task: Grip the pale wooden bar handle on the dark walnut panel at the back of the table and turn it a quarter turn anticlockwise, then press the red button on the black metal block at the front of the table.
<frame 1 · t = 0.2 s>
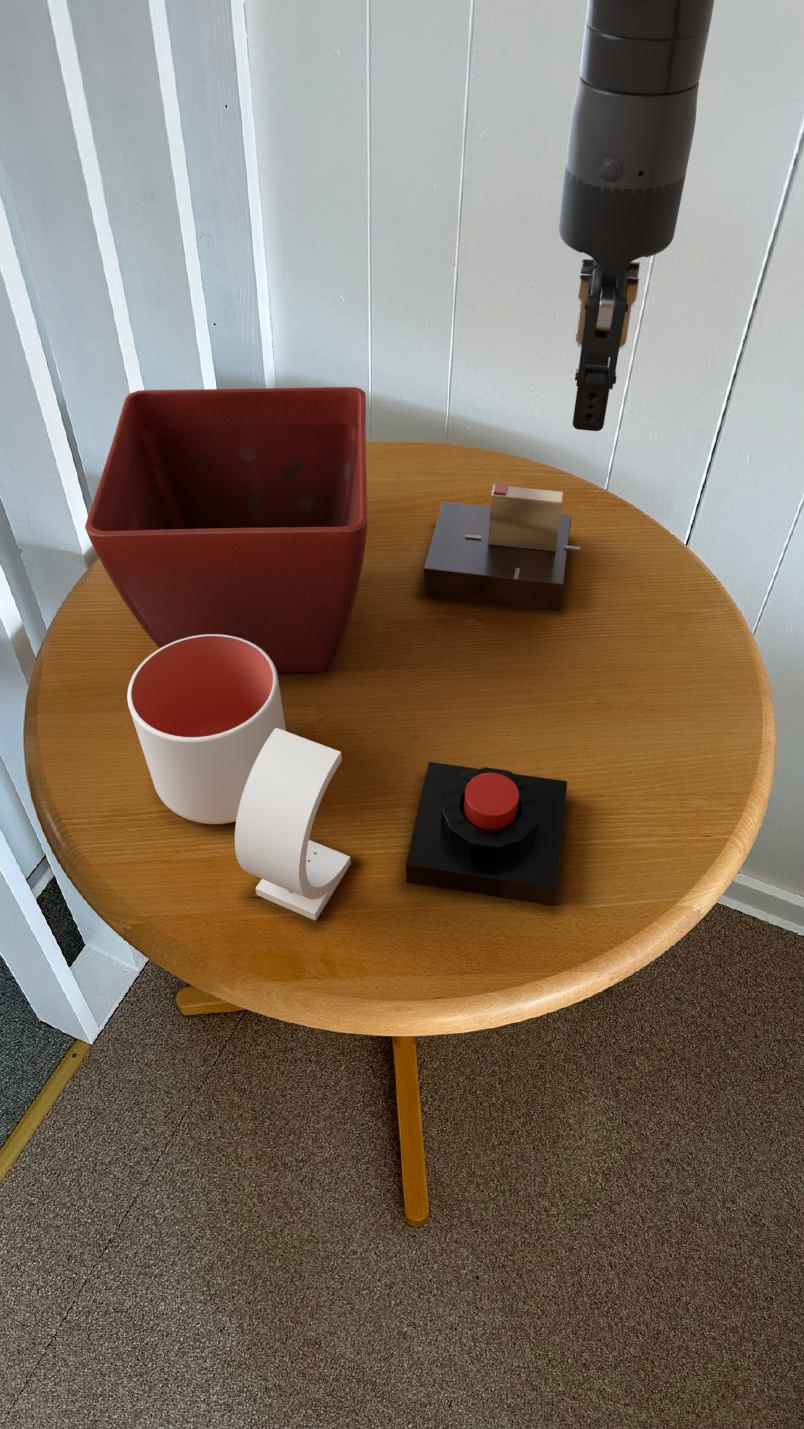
hand: (590, 397, 73), 18 cm above the table, tool pointing down, fingers open, 8 cm apart
handle: (525, 517, 84), point 6 cm above the table, hinge at 0.0°
button: (491, 801, 65), point 4 cm above the table, slide at 0.1 cm
plant pot: (263, 624, 84), on the table
panel: (497, 567, 88), on the table
headphone stand: (300, 886, 66), on the table
cup: (224, 779, 72), on the table
button block: (487, 839, 68), on the table
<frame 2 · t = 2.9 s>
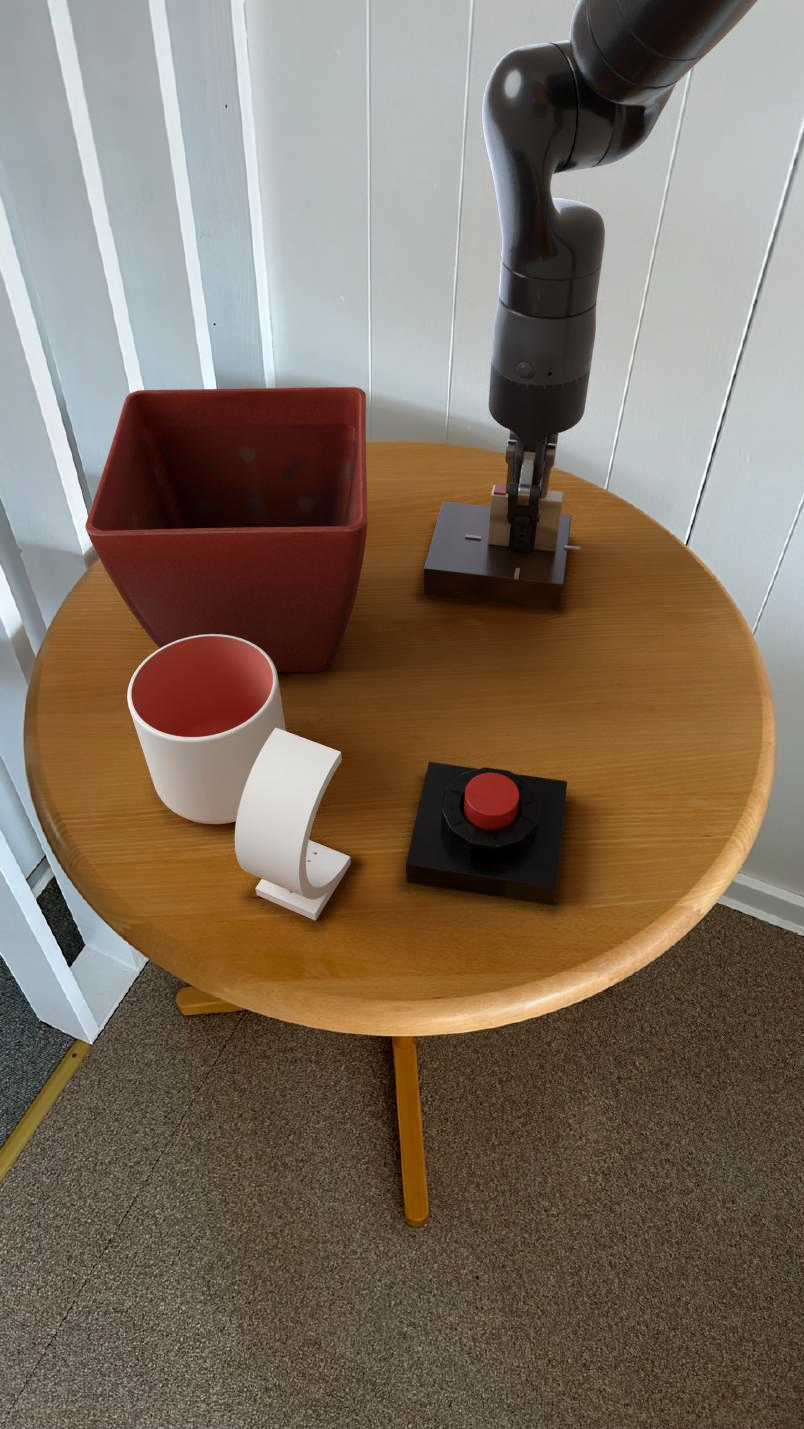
hand: (522, 540, 86), 3 cm above the table, tool pointing down, fingers closed on handle
handle: (525, 517, 84), point 6 cm above the table, hinge at 0.0°, touching gripper
everything else where it was.
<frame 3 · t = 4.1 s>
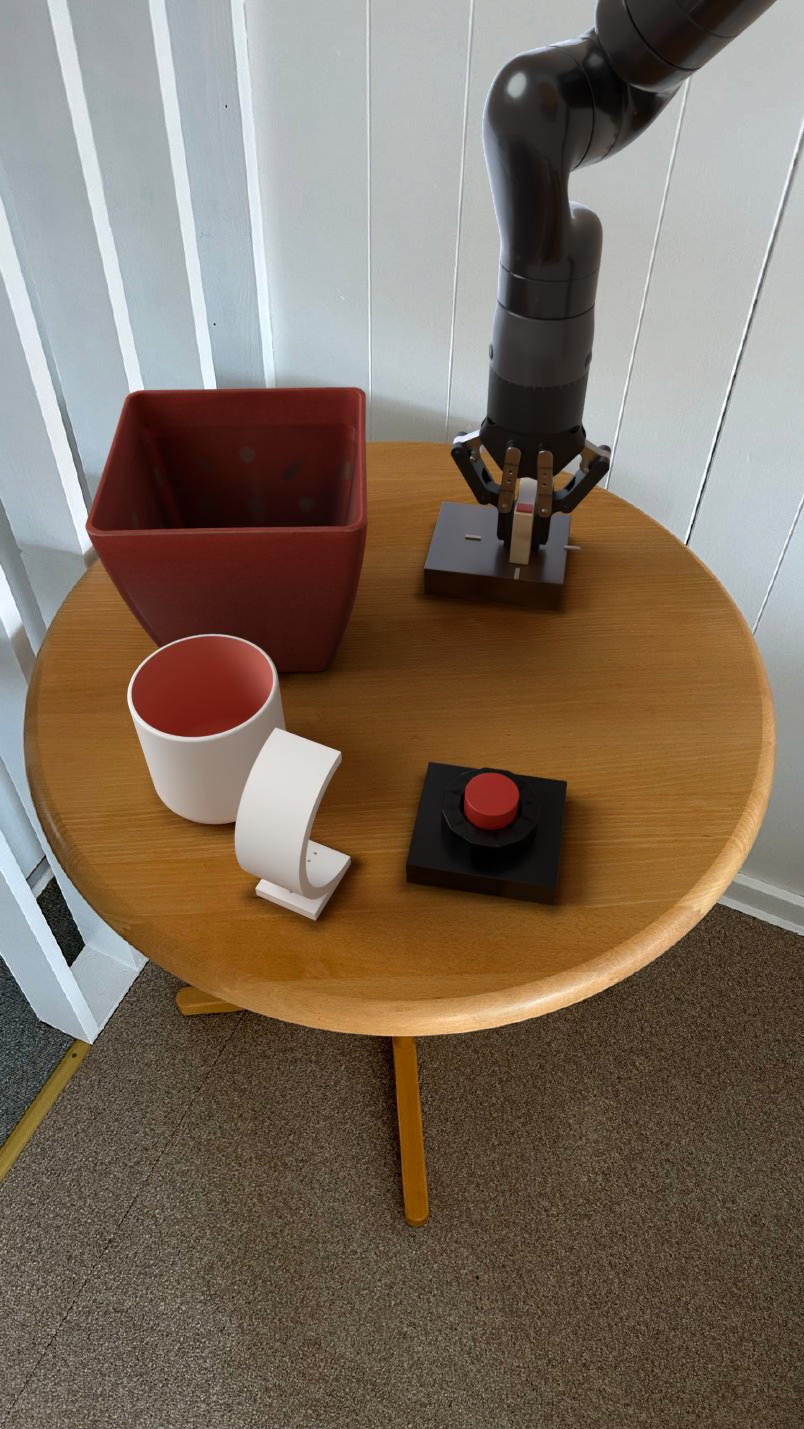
hand: (521, 542, 85), 3 cm above the table, tool pointing down, fingers closed
handle: (525, 517, 84), point 6 cm above the table, hinge at 89.7°
everything else where it was.
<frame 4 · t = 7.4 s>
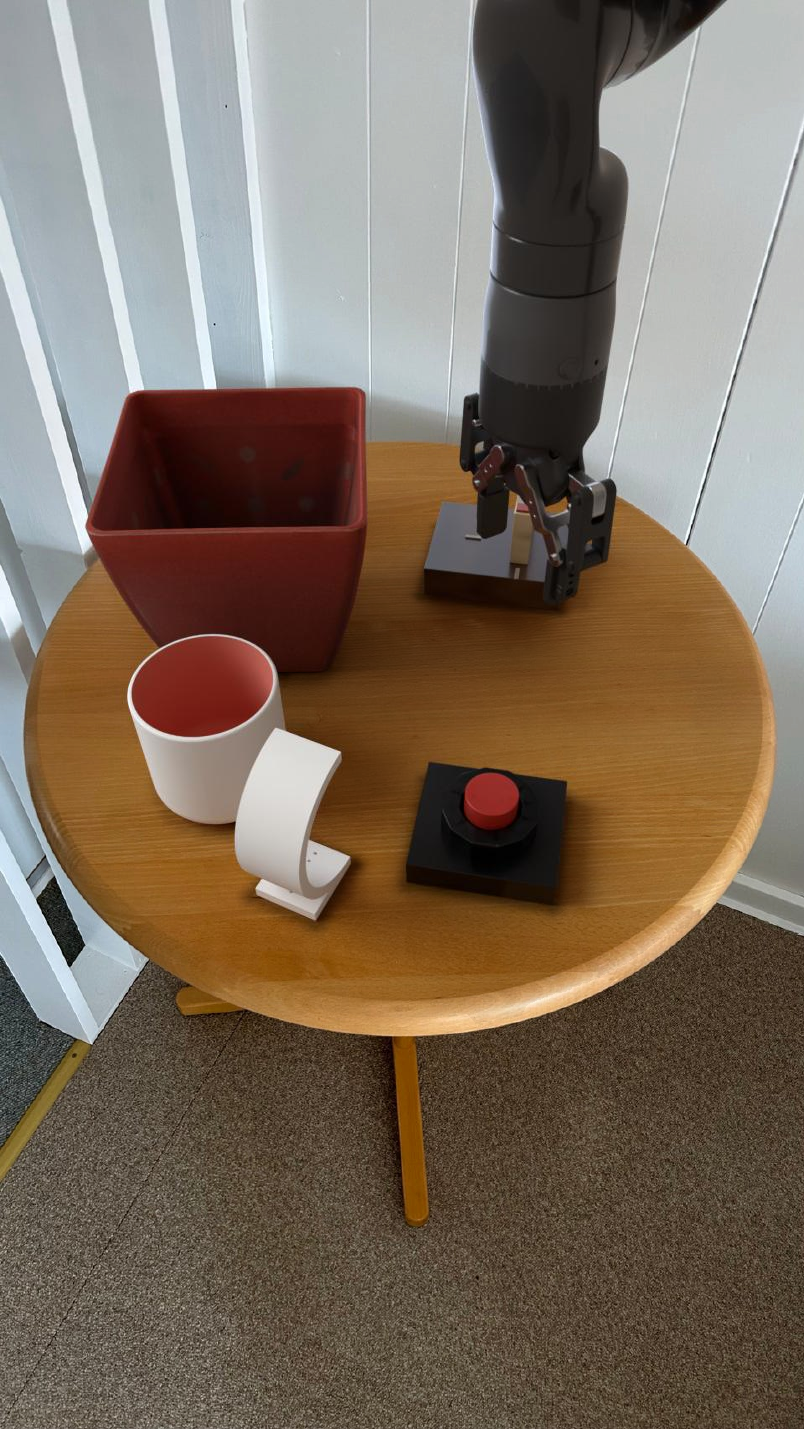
hand: (523, 565, 69), 12 cm above the table, tool pointing down, fingers open, 8 cm apart
nothing on the table moved.
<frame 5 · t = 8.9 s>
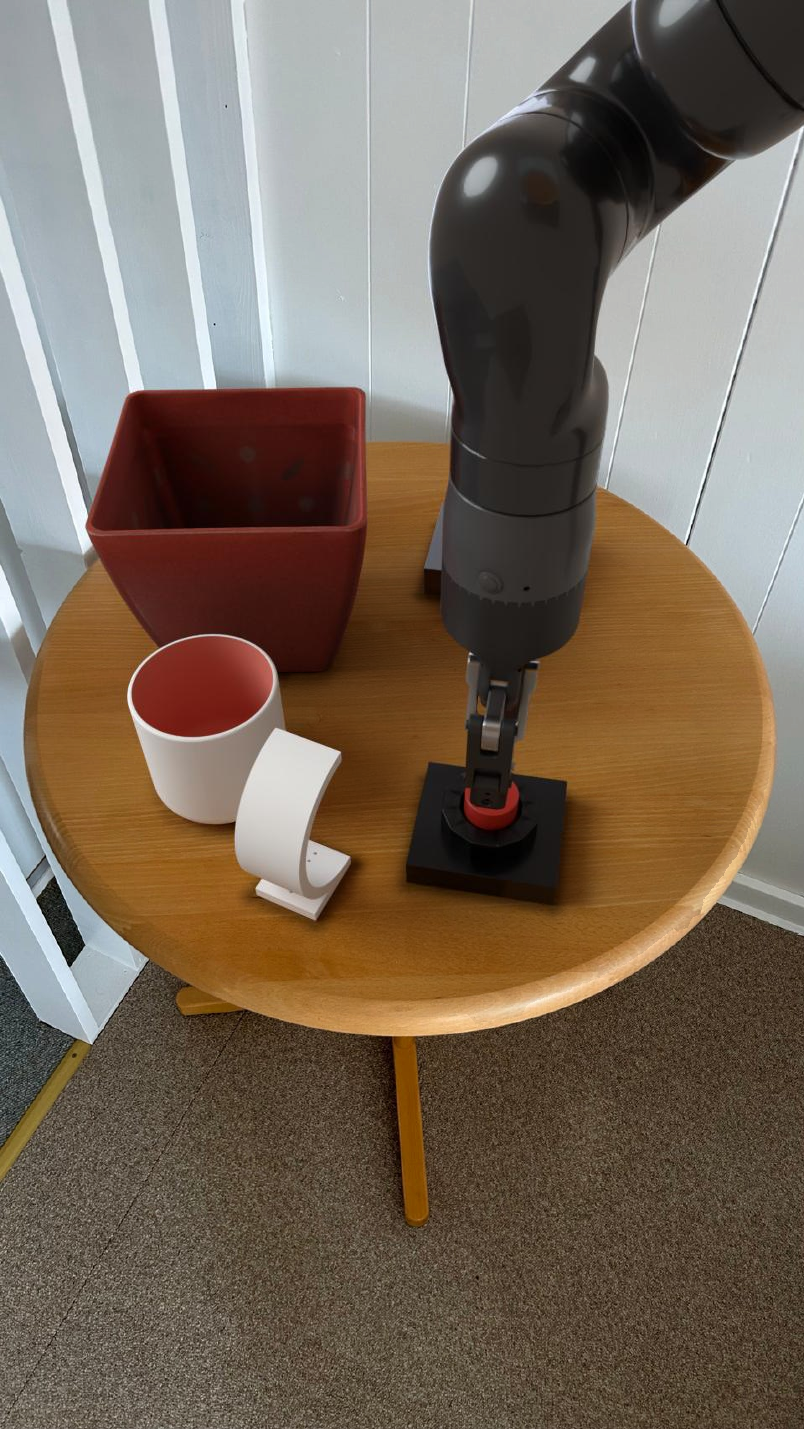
hand: (495, 757, 61), 9 cm above the table, tool pointing down, fingers open, 7 cm apart
nothing on the table moved.
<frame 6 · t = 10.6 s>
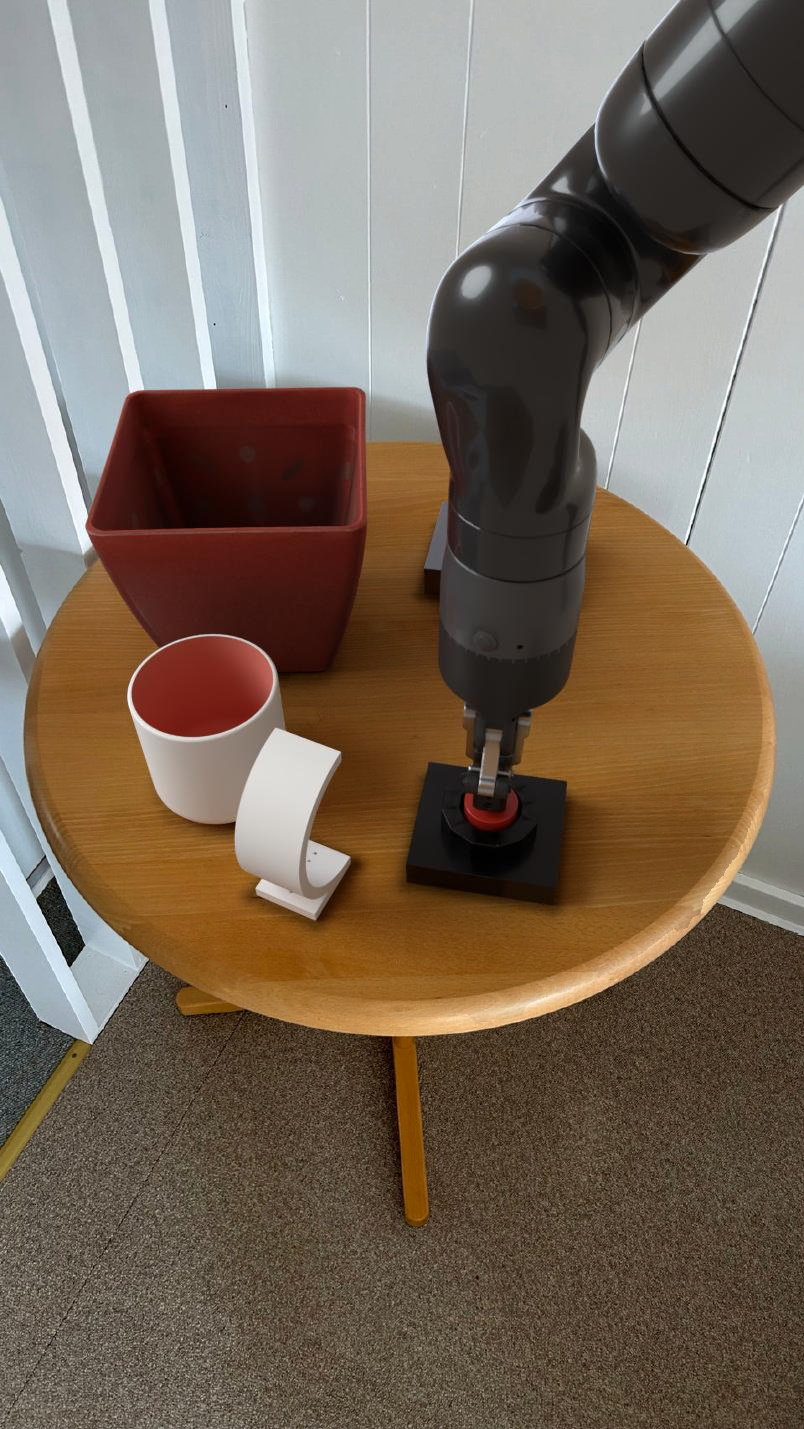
hand: (489, 801, 65), 5 cm above the table, tool pointing down, fingers closed
button: (490, 808, 65), point 4 cm above the table, slide at -0.8 cm, touching gripper
everything else where it was.
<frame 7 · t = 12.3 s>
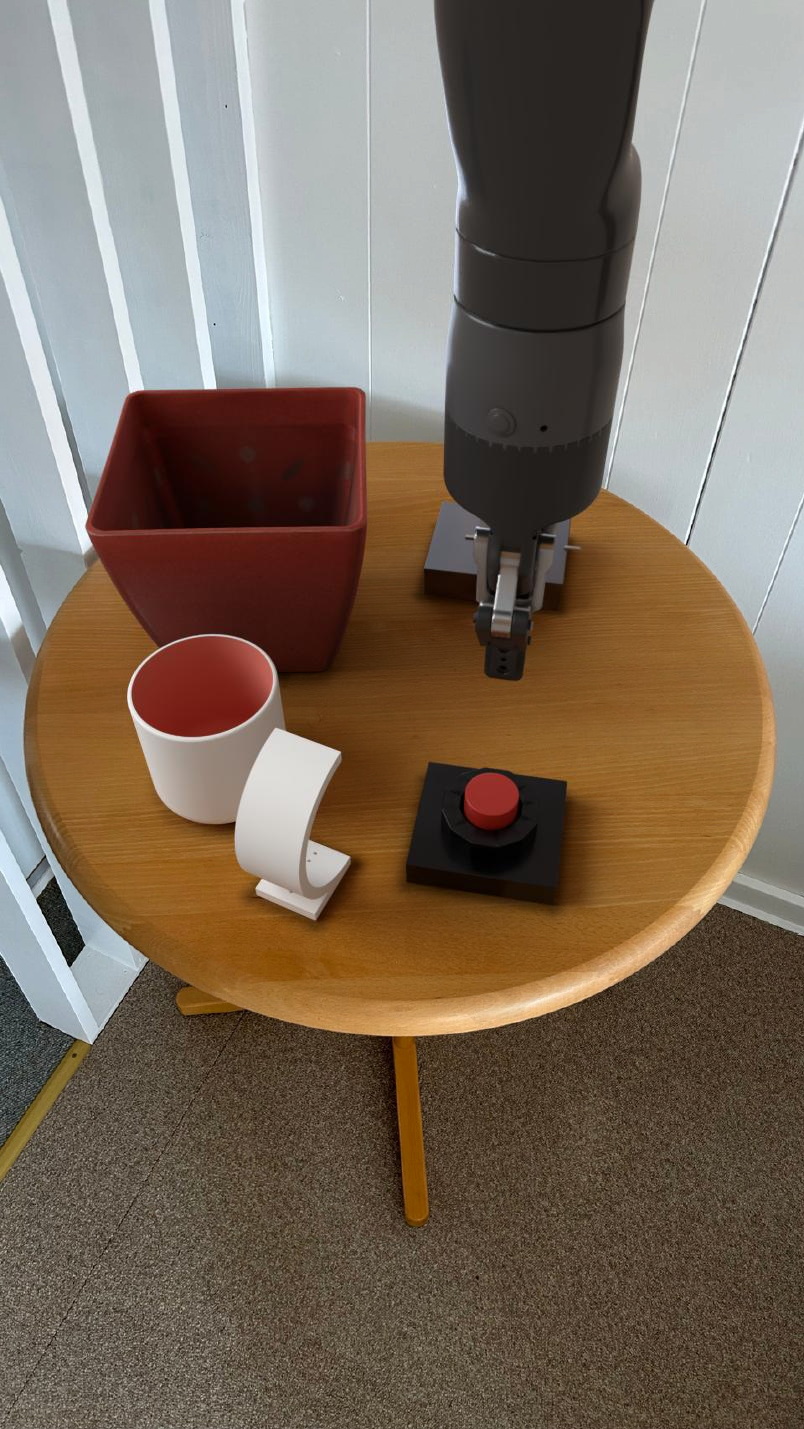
hand: (504, 670, 56), 17 cm above the table, tool pointing down, fingers closed
button: (491, 801, 65), point 4 cm above the table, slide at 0.1 cm
everything else where it was.
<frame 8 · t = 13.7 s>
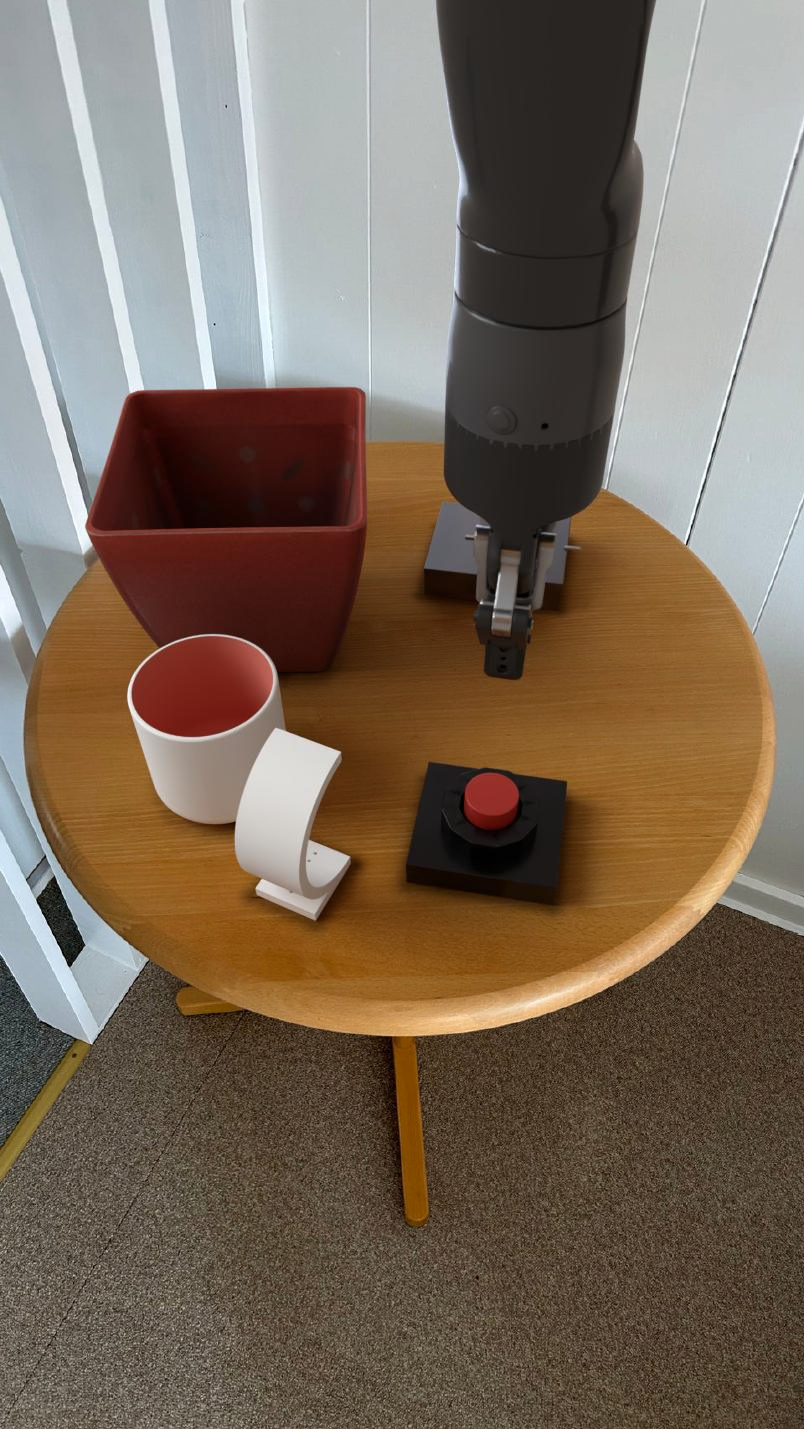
hand: (504, 669, 55), 17 cm above the table, tool pointing down, fingers closed
nothing on the table moved.
at the end: handle at +90° (first picture: +0°); button pushed in 1.1 cm at the most during the clip, back to where it started at the end; button slide at 0.1 cm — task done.
